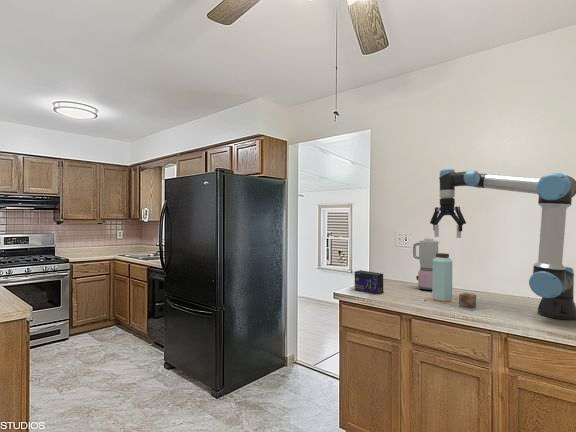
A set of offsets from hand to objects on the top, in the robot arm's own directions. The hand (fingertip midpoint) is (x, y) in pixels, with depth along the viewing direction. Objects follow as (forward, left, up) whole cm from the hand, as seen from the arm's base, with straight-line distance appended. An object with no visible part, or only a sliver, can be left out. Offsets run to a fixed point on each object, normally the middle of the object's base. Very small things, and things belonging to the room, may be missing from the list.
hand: (447, 237), depth 192 cm
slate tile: (-14, +3, -35) cm, 38 cm away
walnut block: (-14, +3, -34) cm, 37 cm away
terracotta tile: (+1, +3, -35) cm, 35 cm away
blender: (+28, -16, -35) cm, 47 cm away
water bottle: (+1, +3, -34) cm, 34 cm away
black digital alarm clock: (+39, +21, -35) cm, 56 cm away
